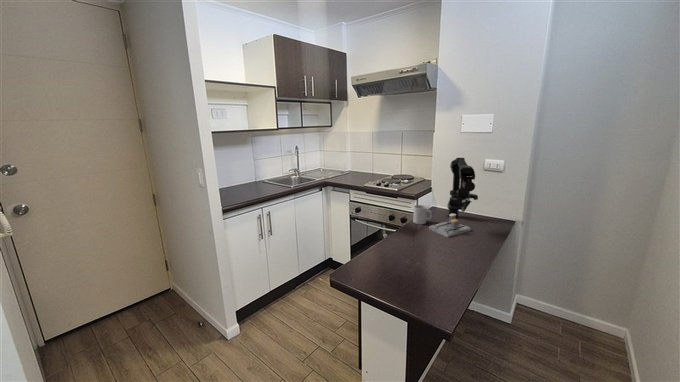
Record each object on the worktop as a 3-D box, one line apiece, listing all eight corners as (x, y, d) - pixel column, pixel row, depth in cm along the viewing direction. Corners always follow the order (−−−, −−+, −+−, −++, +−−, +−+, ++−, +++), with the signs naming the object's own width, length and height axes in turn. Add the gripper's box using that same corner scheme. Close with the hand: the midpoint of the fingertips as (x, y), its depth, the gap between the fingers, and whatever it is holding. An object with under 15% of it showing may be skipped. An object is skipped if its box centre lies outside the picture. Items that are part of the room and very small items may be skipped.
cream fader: (452, 221, 184) (453, 213, 182) (455, 222, 182) (456, 214, 180) (448, 222, 182) (449, 214, 181) (451, 223, 180) (452, 215, 179)
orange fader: (454, 227, 173) (454, 219, 172) (457, 228, 171) (457, 220, 170) (450, 228, 172) (450, 220, 170) (453, 229, 170) (454, 221, 168)
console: (450, 223, 187) (451, 218, 186) (470, 230, 174) (470, 225, 173) (428, 229, 178) (429, 224, 177) (447, 237, 165) (447, 232, 164)
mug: (411, 223, 189) (412, 207, 186) (414, 219, 196) (415, 204, 193) (429, 225, 183) (430, 210, 181) (432, 221, 190) (433, 206, 188)
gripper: (464, 183, 180) (462, 206, 184) (443, 186, 172) (442, 210, 176) (479, 186, 171) (477, 210, 175) (458, 190, 163) (456, 215, 166)
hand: (462, 211), depth 173 cm, fingers closed
